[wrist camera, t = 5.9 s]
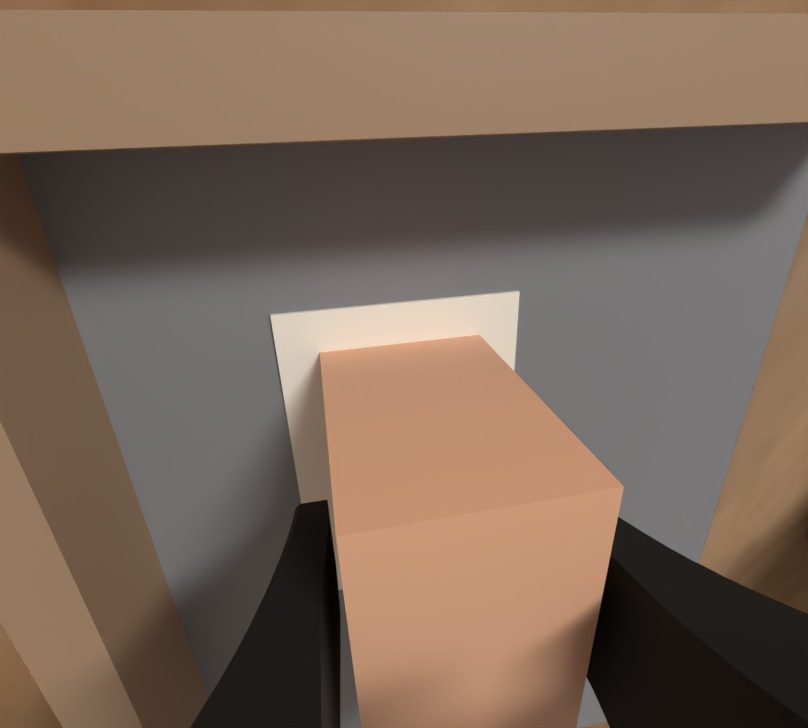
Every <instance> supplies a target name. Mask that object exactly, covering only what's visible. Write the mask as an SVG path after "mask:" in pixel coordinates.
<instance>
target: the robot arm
mask: <svg viewBox="0 0 808 728" xmlns="http://www.w3.org/2000/svg"><path fill="white" fill-rule="evenodd" d="M340 670H341V612H340V601H339V590H338V579H337V569H336V561H335V553H334V546H333V538H332V531H331V523H330V516H329V508H328V501H327V500H322V501H315V502H309V503H303V504H299V505H298V506H297V507H296V509H295V512H294V517H293V521H292V524H291V528H290V531H289V534H288V537H287V540H286V543H285V546H284V549H283V551H282V554H281V557H280V559H279V562H278V564H277V566H276V569H275V571H274V574H273V576H272V579H271V581H270V584H269V586H268V588H267V590H266V593H265V595H264V597H263V599H262V601H261V603H260V605H259V607H258V609H257V611H256V613H255V616H254V618H253V620H252V622H251V624H250V626H249V628H248V630H247V632H246V634H245V636H244V638H243V639H242V641H241V643H240V645H239V647H238V649H237V651H236V652H235V654H234V656H233V658H232V660H231V661H230V663H229V665H228V666H227V668H226V670H225V672H224V673H223V675H222V677H221V679H220V680H219V682H218V684H217V685H216V687H215V688H214V690H213V692H212V693H211V695H210V696H209V698H208V700H207V701H206V703H205V704H204V706H203V708H202V709H201V711H200V713H199V714H198V716H197V717H196V719H195V720H194V722H193V723H192V725H191V727H190V728H341V727H340ZM586 677H587V679H588V681H589V683H590V685H591V687H592V689H593V691H594V693H595V695H596V698H597V700H598V702H599V704H600V706H601V709H602V711H603V713H604V715H605V718H606V720H607V722H608V724H609V726H610V728H808V614H806V613H804V612H801V611H799V610H796V609H794V608H791V607H789V606H787V605H784V604H782V603H780V602H778V601H775V600H773V599H771V598H769V597H766V596H764V595H762V594H760V593H757V592H755V591H753V590H751V589H748V588H746V587H744V586H742V585H740V584H738V583H736V582H734V581H732V580H729V579H727V578H725V577H723V576H721V575H719V574H718V573H716V572H714V571H712V570H710V569H708V568H706V567H704V566H702V565H700V564H698V563H696V562H694V561H692V560H690V559H688V558H687V557H685V556H683V555H681V554H679V553H678V552H676V551H674V550H672V549H670V548H669V547H667V546H665V545H664V544H662V543H660V542H659V541H657V540H655V539H654V538H652V537H650V536H649V535H647V534H645V533H644V532H642V531H640V530H639V529H637V528H635V527H634V526H632V525H631V524H629V523H627V522H626V521H624V520H623V519H621V518H620V517H618V520H617V525H616V530H615V535H614V540H613V545H612V550H611V555H610V560H609V565H608V570H607V575H606V580H605V585H604V590H603V595H602V601H601V606H600V611H599V616H598V621H597V626H596V631H595V636H594V641H593V646H592V651H591V656H590V661H589V666H588V671H587V676H586Z"/></svg>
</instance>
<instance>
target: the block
mask: <svg viewBox="0 0 808 728" xmlns="http://www.w3.org/2000/svg"><path fill="white" fill-rule="evenodd" d="M320 363H321V374H322V385H323V397H324V408H325V419H326V431H327V442H328V453H329V465H330V476H331V487H332V499H333V510H334V521H335V533H336V542H337V549H338V557H339V564H340V572H341V579H342V587H343V594H344V602H345V609H346V617H347V624H348V632H349V639H350V647H351V654H352V662H353V669H354V677H355V684H356V692H357V699H358V707H359V714H360V722H361V728H576V727H577V722H578V717H579V712H580V707H581V701H582V696H583V691H584V686H585V681H586V676H587V671H588V666H589V661H590V656H591V651H592V646H593V641H594V636H595V631H596V626H597V621H598V616H599V611H600V606H601V601H602V595H603V590H604V585H605V580H606V575H607V570H608V565H609V560H610V555H611V550H612V545H613V540H614V535H615V530H616V525H617V520H618V515H619V510H620V505H621V500H622V495H623V489H624V486H623V485H622V484H621V483H620V482H619V481H618V480H617V479H616V478H615V477H614V476H613V475H612V474H611V473H610V471H609V470H608V469H607V468H606V467H605V466H604V465H603V464H602V463H601V462H600V461H599V460H598V459H597V458H596V457H595V456H594V455H593V454H592V453H591V451H590V450H589V449H588V448H587V447H586V446H585V445H584V444H583V443H582V442H581V441H580V440H579V439H578V438H577V437H576V436H575V435H574V434H573V433H572V431H571V430H570V429H569V428H568V427H567V426H566V425H565V424H564V423H563V422H562V421H561V420H560V419H559V418H558V417H557V416H556V415H555V414H554V413H553V411H552V410H551V409H550V408H549V407H548V406H547V405H546V404H545V403H544V402H543V401H542V400H541V399H540V398H539V397H538V396H537V395H536V394H535V393H534V391H533V390H532V389H531V388H530V387H529V386H528V385H527V384H526V383H525V382H524V381H523V380H522V379H521V378H520V377H519V376H518V375H517V374H516V373H515V372H514V370H513V369H512V368H511V367H510V366H509V365H508V364H507V363H506V362H505V361H504V360H503V359H502V358H501V357H500V356H499V355H498V354H497V353H496V352H495V350H494V349H493V348H492V347H491V346H490V345H489V344H488V343H487V342H486V341H485V340H484V339H483V338H482V337H481V336H480V335H472V336H463V337H454V338H445V339H436V340H427V341H418V342H409V343H401V344H392V345H383V346H374V347H365V348H356V349H347V350H338V351H329V352H320Z"/></svg>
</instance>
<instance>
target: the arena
mask: <svg viewBox="0 0 808 728" xmlns="http://www.w3.org/2000/svg"><path fill="white" fill-rule="evenodd" d="M807 213H808V14H784V13H575V12H366V11H157V10H0V622H1V624H2V626H3V627H4V629H5V631H6V632H7V634H8V636H9V638H10V639H11V641H12V643H13V644H14V646H15V648H16V649H17V651H18V653H19V655H20V656H21V658H22V660H23V661H24V663H25V665H26V667H27V668H28V670H29V672H30V673H31V675H32V677H33V678H34V680H35V682H36V684H37V685H38V687H39V689H40V690H41V692H42V694H43V695H44V697H45V699H46V701H47V702H48V704H49V706H50V707H51V709H52V711H53V712H54V714H55V716H56V718H57V719H58V721H59V723H60V724H61V726H62V728H190V727H191V725H192V723H193V722H194V720H195V719H196V717H197V716H198V714H199V713H200V711H201V709H202V708H203V706H204V704H205V703H206V701H207V700H208V698H209V696H210V695H211V693H212V692H213V690H214V688H215V687H216V685H217V684H218V682H219V680H220V679H221V677H222V675H223V673H224V672H225V670H226V668H227V666H228V665H229V663H230V661H231V660H232V658H233V656H234V654H235V652H236V651H237V649H238V647H239V645H240V643H241V641H242V639H243V638H244V636H245V634H246V632H247V630H248V628H249V626H250V624H251V622H252V620H253V618H254V616H255V613H256V611H257V609H258V607H259V605H260V603H261V601H262V599H263V597H264V595H265V593H266V590H267V588H268V586H269V584H270V581H271V579H272V576H273V574H274V571H275V569H276V566H277V564H278V562H279V559H280V557H281V554H282V551H283V549H284V546H285V543H286V540H287V537H288V534H289V531H290V528H291V524H292V521H293V517H294V512H295V509H296V507H297V506H298V505H299V504H303V503H309V502H315V501H322V500H327V501H328V508H329V516H330V523H331V531H332V538H333V546H334V553H335V561H336V569H337V579H338V590H339V601H340V612H341V670H340V727H341V728H361V722H360V714H359V707H358V699H357V692H356V684H355V677H354V669H353V662H352V654H351V647H350V639H349V632H348V624H347V617H346V609H345V602H344V594H343V587H342V579H341V572H340V564H339V557H338V549H337V542H336V533H335V521H334V510H333V499H332V487H331V476H330V465H329V453H328V442H327V431H326V419H325V408H324V397H323V385H322V374H321V363H320V352H329V351H338V350H347V349H356V348H365V347H374V346H383V345H392V344H401V343H409V342H418V341H427V340H436V339H445V338H454V337H463V336H472V335H480V336H481V337H482V338H483V339H484V340H485V341H486V342H487V343H488V344H489V345H490V346H491V347H492V348H493V349H494V350H495V352H496V353H497V354H498V355H499V356H500V357H501V358H502V359H503V360H504V361H505V362H506V363H507V364H508V365H509V366H510V367H511V368H512V369H513V370H514V372H515V373H516V374H517V375H518V376H519V377H520V378H521V379H522V380H523V381H524V382H525V383H526V384H527V385H528V386H529V387H530V388H531V389H532V390H533V391H534V393H535V394H536V395H537V396H538V397H539V398H540V399H541V400H542V401H543V402H544V403H545V404H546V405H547V406H548V407H549V408H550V409H551V410H552V411H553V413H554V414H555V415H556V416H557V417H558V418H559V419H560V420H561V421H562V422H563V423H564V424H565V425H566V426H567V427H568V428H569V429H570V430H571V431H572V433H573V434H574V435H575V436H576V437H577V438H578V439H579V440H580V441H581V442H582V443H583V444H584V445H585V446H586V447H587V448H588V449H589V450H590V451H591V453H592V454H593V455H594V456H595V457H596V458H597V459H598V460H599V461H600V462H601V463H602V464H603V465H604V466H605V467H606V468H607V469H608V470H609V471H610V473H611V474H612V475H613V476H614V477H615V478H616V479H617V480H618V481H619V482H620V483H621V484H622V485H623V486H624V489H623V495H622V500H621V505H620V510H619V515H618V517H620V518H621V519H623V520H624V521H626V522H627V523H629V524H631V525H632V526H634V527H635V528H637V529H639V530H640V531H642V532H644V533H645V534H647V535H649V536H650V537H652V538H654V539H655V540H657V541H659V542H660V543H662V544H664V545H665V546H667V547H669V548H670V549H672V550H674V551H676V552H678V553H679V554H681V555H683V556H685V557H687V558H688V559H690V560H692V561H694V562H696V563H698V564H699V561H700V558H701V554H702V551H703V548H704V545H705V541H706V538H707V535H708V532H709V529H710V525H711V522H712V519H713V516H714V512H715V509H716V506H717V503H718V500H719V496H720V493H721V490H722V487H723V484H724V480H725V477H726V474H727V471H728V467H729V464H730V461H731V458H732V455H733V451H734V448H735V445H736V442H737V438H738V435H739V432H740V429H741V426H742V422H743V419H744V416H745V413H746V410H747V406H748V403H749V400H750V397H751V393H752V390H753V387H754V384H755V381H756V377H757V374H758V371H759V368H760V364H761V361H762V358H763V355H764V352H765V348H766V345H767V342H768V339H769V335H770V332H771V329H772V326H773V323H774V319H775V316H776V313H777V310H778V307H779V303H780V300H781V297H782V294H783V290H784V287H785V284H786V281H787V278H788V274H789V271H790V268H791V265H792V261H793V258H794V255H795V252H796V249H797V245H798V242H799V239H800V236H801V232H802V229H803V226H804V223H805V220H806V216H807ZM606 721H607V720H606V718H605V715H604V713H603V711H602V709H601V706H600V704H599V702H598V700H597V698H596V695H595V693H594V691H593V689H592V687H591V685H590V683H589V681H588V679H587V677H586V681H585V686H584V691H583V696H582V701H581V707H580V712H579V717H578V722H577V727H576V728H583V727H586V726H590V725H594V724H598V723H602V722H606Z"/></svg>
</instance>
